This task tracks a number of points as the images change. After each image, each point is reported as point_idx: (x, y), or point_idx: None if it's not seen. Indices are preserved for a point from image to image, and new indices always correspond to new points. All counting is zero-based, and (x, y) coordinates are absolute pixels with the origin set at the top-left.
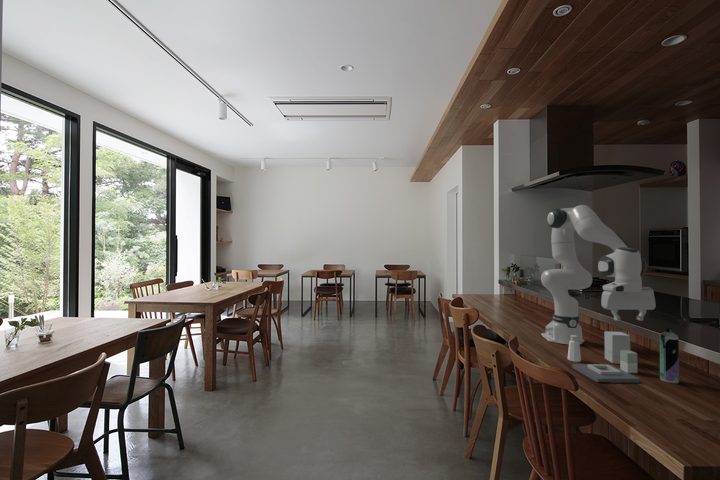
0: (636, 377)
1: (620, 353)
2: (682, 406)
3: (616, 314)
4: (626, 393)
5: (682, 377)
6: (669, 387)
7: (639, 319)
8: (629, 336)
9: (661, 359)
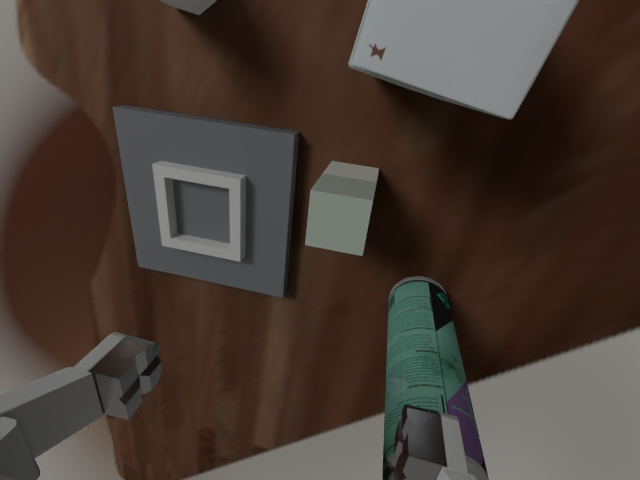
0: (280, 287)
1: (315, 185)
2: (265, 407)
3: (57, 432)
4: (185, 333)
5: (517, 289)
6: (350, 336)
7: (394, 445)
8: (501, 116)
9: (388, 351)
